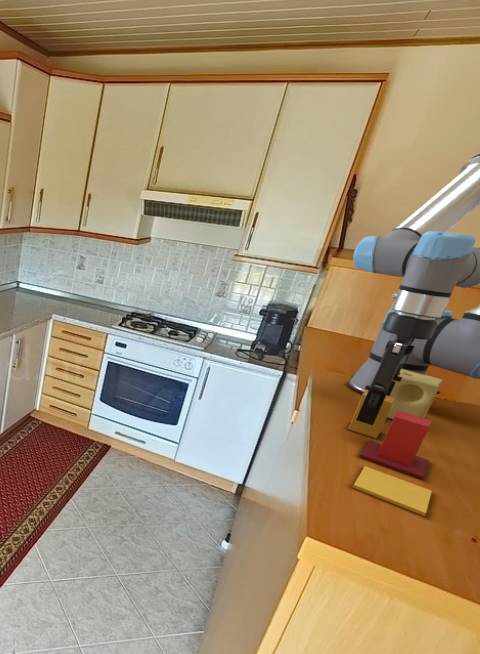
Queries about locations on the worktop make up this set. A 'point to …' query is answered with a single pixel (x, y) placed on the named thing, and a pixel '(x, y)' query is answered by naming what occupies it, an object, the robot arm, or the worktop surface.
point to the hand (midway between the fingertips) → (370, 414)
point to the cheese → (413, 393)
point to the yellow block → (379, 422)
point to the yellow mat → (393, 490)
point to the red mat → (414, 470)
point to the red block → (404, 438)
